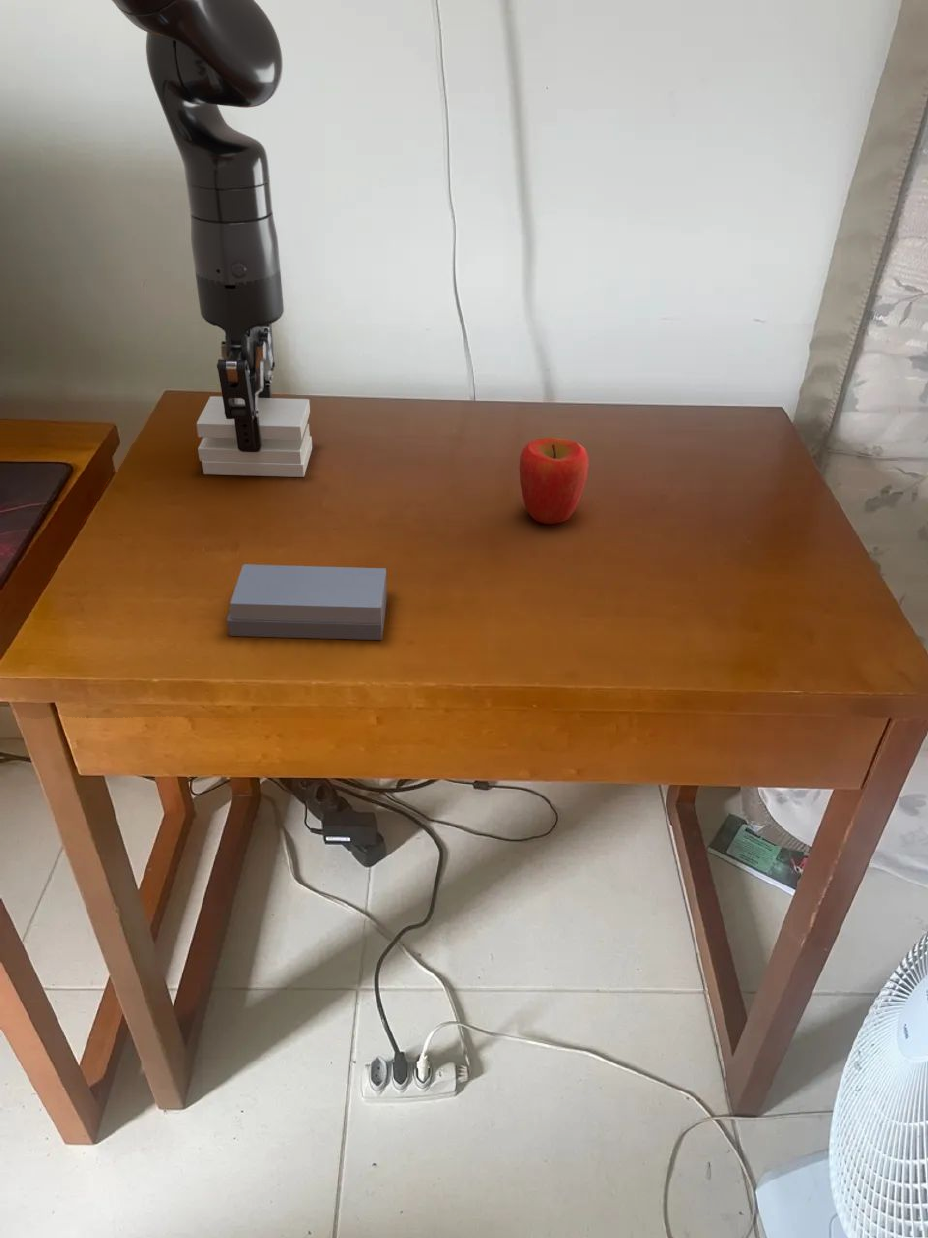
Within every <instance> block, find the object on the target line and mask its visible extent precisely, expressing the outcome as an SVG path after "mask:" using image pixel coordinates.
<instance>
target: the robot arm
mask: <svg viewBox="0 0 928 1238" xmlns="http://www.w3.org/2000/svg"><path fill="white" fill-rule="evenodd" d="M111 2H113V4H114V5H115V6H116V7H117V9H118V10H119V11H120V12H121V13H122V15H124V17H125V18H126V19H128V20H129V22H131V23H132V24H133V25H134V26H136V27H137V28H138V29H140V30H142V31H144V32H146V37H145V56H146V63H147V68H148V73H149V77H150V78H151V83H152V85H153V87H154V90H155V93H156V96H157V98H158V101H159V103H160V104H159V105H160V106H161V108H162V111H163V114H164V116H165V119H166V122H167V124H168V126H169V129H170V132H171V135H172V138H173V140H174V142H175V143H174V144H175V145H176V147H177V150H178V153H179V155H180V158H181V161H182V164H183V169H184V176H185V184H186V191H187V198H188V206H189V207H188V208H189V213H190V241H191V242H190V243H191V251H192V257H193V265H194V273H195V278H196V288H197V294H198V301H199V308H200V315H201V317H202V319H203V320H205V322H206V323H208V324H210V325H211V326H215V327H218V328H220V329H222V331H224V333H225V335H224V338H225V339H224V340H221V342H220V343H221V344H220V350H221V351H220V354H221V355H220V356H221V358H219V359H218V360H217V363H216V369H217V373H218V378H219V383H220V390H221V391H220V392H221V395H222V396H221V397H223V403H224V409H225V415H226V419H234V422H235V430H236V438H237V446H238V449H239V450H240V451H241V452H259V451H260V449H261V446H262V443H261V436H260V426H259V416H258V414H259V408H258V398H273V397H272V388H271V384H272V383H273V380H274V379H273V378H274V376H273V374H272V371H273V372H274V371H275V367H276V362H275V357H274V356H275V355H274V339H273V338H274V337H273V324H274V323H276V322H277V321H278V320H280V319H281V318H282V317H283V315H284V310H285V307H284V306H285V305H284V297H283V295H284V294H283V284H282V271H281V261H280V249H279V239H278V233H277V228H276V223H275V219H274V211H273V202H272V190H271V179H270V178H271V177H270V167H269V166H270V165H269V159H268V155H267V150H266V148H265V147H264V145H263V144H262V143H261V142H260V141H259V140H257V139H255V138H254V137H251V136H249V135H247V134H244V133H242V132H240V131H238V130H236V129H234V128H232V127H231V126H230V125H229V124H228V123H227V121H226V120H225V119H224V117H223V115H222V111H221V110H220V108H219V106H223V107H224V106H225V107H234V108H245V109H247V108H255V107H259V106H262V105H264V104H266V103H267V102H268V101H269V100H270V99H272V98H273V96H275V94H276V92H277V90H278V89H279V86H280V84H281V81H282V76H283V69H284V68H283V67H284V66H283V65H284V62H283V51H282V48H281V43H280V39H279V37H278V35H277V32H276V30H275V27H274V26H273V23H272V22H271V20H270V18H269V16H268V15H267V14H266V12H265V11H264V10H263V9H262V8H261V6H260V5H259V4H258V3H257V2H256V0H111ZM238 398H241V399H243V400H244V401H245V404H238Z"/></svg>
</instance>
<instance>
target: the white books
mask: <svg viewBox="0 0 928 1238" xmlns="http://www.w3.org/2000/svg"><path fill="white" fill-rule="evenodd" d="M261 443H262V446H261V449H260V451H259V452H241V451H240V450H239V449H238V446H237V438H206V437H202V439H201V442H200V444H199V446H198V448H197V451H198V457H199V461H200V462H201V465H202V471H203V475H219V476H220V475H224V476H253V477H255V476H259V477H260V476H261V477H287V478H288V477H291V478H294V477H295V478H304V477H305V475H306V472H307V468H308V465H309V461H310V458H311V455H312V452H313V451H312V450H313V438H312V436H311V434H310V423H307V424H306V427H305V431H304V434H303V437H302V440H272V439H261Z"/></svg>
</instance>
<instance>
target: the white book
mask: <svg viewBox="0 0 928 1238" xmlns="http://www.w3.org/2000/svg"><path fill="white" fill-rule="evenodd" d="M310 403H311V402H310V399H309V398H280V397H279V398H278V397H272V398H258V408H259V414H258V416H259V426H260V436H261V439H272V440H302V437H303V434H304V431H305V427H306V424H308V421H309V419H310V418H309V417H310V414H311V406H310V405H311V404H310ZM238 404H245V401H244V400H243V399H241V398H238ZM196 430H197V437H198V438H203V437H206V438H236V430H235V422H234V419H226V415H225V409H224V403H223V397H222V396H214V395H211V396H209V398H208V400H207V402H206V404H205V406H204V408H203V409H202V412H201V414H200V415H199V417H198V420H197V421H196Z"/></svg>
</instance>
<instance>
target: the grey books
mask: <svg viewBox="0 0 928 1238" xmlns="http://www.w3.org/2000/svg"><path fill="white" fill-rule="evenodd" d="M387 588H388V586H387V568H385V567H355V566H353V567H352V566H351V567H349V566H348V567H347V566H319V565H318V566H316V565H282V564H281V565H279V564H249V563H248V564H246V563H245V564H242V566H241V568H240V572H239V575H238V578H237V581H236V584H235V586H234V589H233V593H232V595H231V599H230V601H229V608H230V609H229V613H228V615H227V619H226V624H227V630H228V636H229V637H250V638H254V637H255V638H284V639H285V638H288V639H289V638H290V639H291V638H292V639H325V640H326V639H327V640H358V641H359V640H360V641H362V640H363V641H382V640H383V633H384V626H385V619H386V618H385V617H386V609H387V601H388V589H387Z"/></svg>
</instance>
